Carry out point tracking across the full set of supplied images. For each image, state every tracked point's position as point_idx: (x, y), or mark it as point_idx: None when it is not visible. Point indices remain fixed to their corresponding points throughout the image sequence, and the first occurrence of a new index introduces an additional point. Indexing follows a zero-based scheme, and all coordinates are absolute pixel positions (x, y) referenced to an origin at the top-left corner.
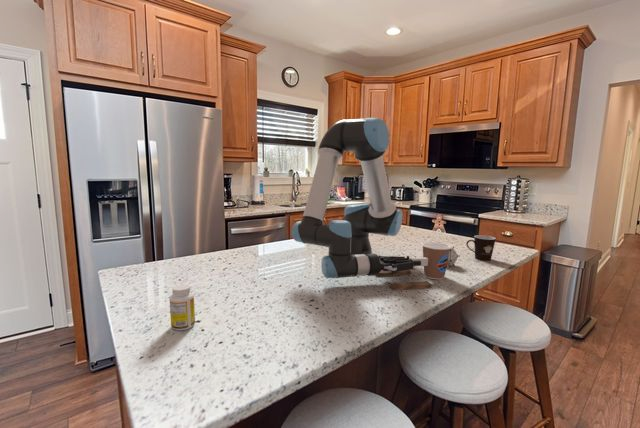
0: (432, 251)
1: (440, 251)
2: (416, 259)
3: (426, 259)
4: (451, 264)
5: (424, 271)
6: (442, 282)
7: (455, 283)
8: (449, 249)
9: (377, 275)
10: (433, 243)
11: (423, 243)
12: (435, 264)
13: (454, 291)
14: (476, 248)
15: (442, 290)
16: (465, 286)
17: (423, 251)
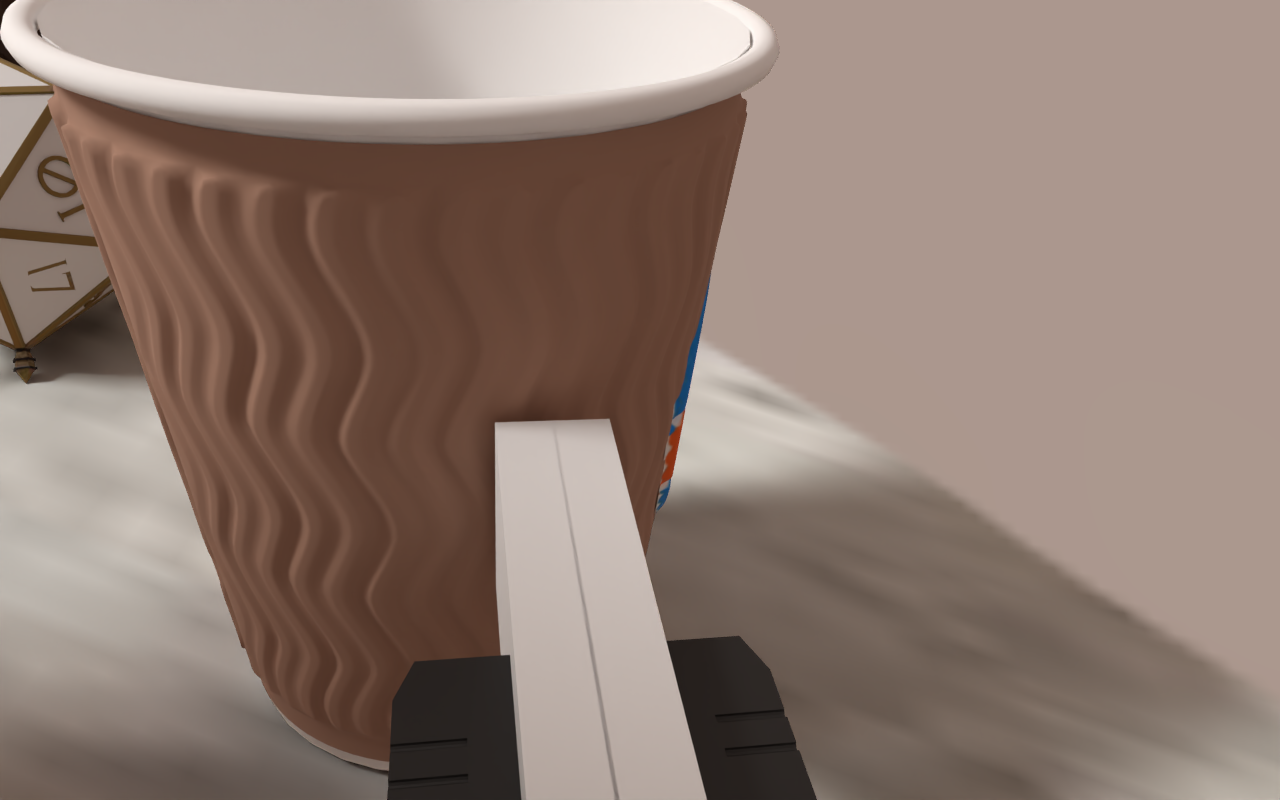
0: (671, 186)
1: (741, 113)
2: (674, 707)
3: (616, 472)
4: (105, 292)
5: (378, 715)
6: (750, 640)
7: (780, 515)
8: (629, 24)
9: None
10: (114, 2)
11: (77, 56)
12: (658, 446)
13: (1145, 650)
14: (2, 11)
15: (1175, 794)
16: (883, 471)
17: (318, 304)
